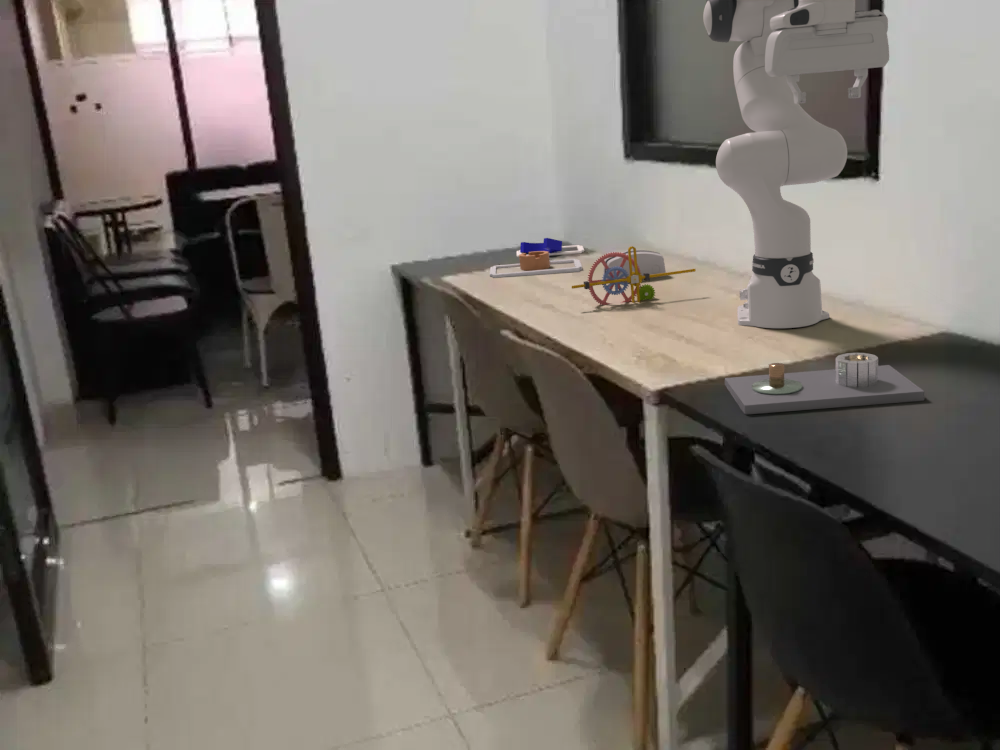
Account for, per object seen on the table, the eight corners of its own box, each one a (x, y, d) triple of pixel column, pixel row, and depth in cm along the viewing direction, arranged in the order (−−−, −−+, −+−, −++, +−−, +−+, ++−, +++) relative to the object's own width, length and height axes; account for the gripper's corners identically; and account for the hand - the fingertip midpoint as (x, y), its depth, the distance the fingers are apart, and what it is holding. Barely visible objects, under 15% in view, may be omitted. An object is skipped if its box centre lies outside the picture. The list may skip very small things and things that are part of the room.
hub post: (747, 383, 176) (746, 360, 175) (795, 379, 176) (794, 356, 175) (758, 396, 169) (757, 373, 168) (808, 392, 168) (807, 369, 167)
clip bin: (517, 263, 325) (516, 250, 323) (582, 257, 324) (581, 244, 323) (517, 269, 313) (516, 256, 312) (585, 264, 312) (584, 250, 311)
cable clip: (534, 260, 322) (519, 257, 318) (535, 245, 322) (520, 242, 318) (561, 256, 312) (546, 252, 308) (562, 241, 313) (547, 237, 309)
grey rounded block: (662, 281, 276) (661, 244, 272) (667, 286, 271) (667, 249, 268) (600, 289, 273) (599, 252, 270) (605, 294, 269) (604, 256, 265)
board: (724, 386, 181) (724, 378, 180) (888, 373, 180) (888, 365, 179) (744, 414, 165) (744, 405, 165) (924, 400, 164) (924, 391, 164)
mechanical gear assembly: (575, 318, 242) (570, 254, 238) (570, 315, 246) (565, 252, 242) (697, 302, 247) (695, 239, 243) (691, 299, 251) (688, 237, 247)
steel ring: (831, 377, 175) (831, 354, 174) (869, 374, 175) (870, 351, 174) (842, 388, 169) (842, 364, 168) (883, 385, 169) (883, 361, 168)
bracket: (555, 277, 292) (553, 252, 291) (528, 282, 290) (525, 257, 288) (530, 270, 309) (528, 247, 307) (504, 274, 306) (501, 251, 304)
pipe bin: (491, 279, 300) (490, 265, 299) (579, 272, 299) (578, 258, 298) (490, 289, 286) (489, 275, 284) (583, 282, 285) (582, 267, 284)
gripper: (878, 10, 175) (878, 95, 179) (760, 20, 174) (762, 106, 177) (896, 6, 169) (895, 94, 173) (774, 17, 168) (775, 106, 171)
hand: (827, 100), depth 175 cm, fingers open, 8 cm apart
